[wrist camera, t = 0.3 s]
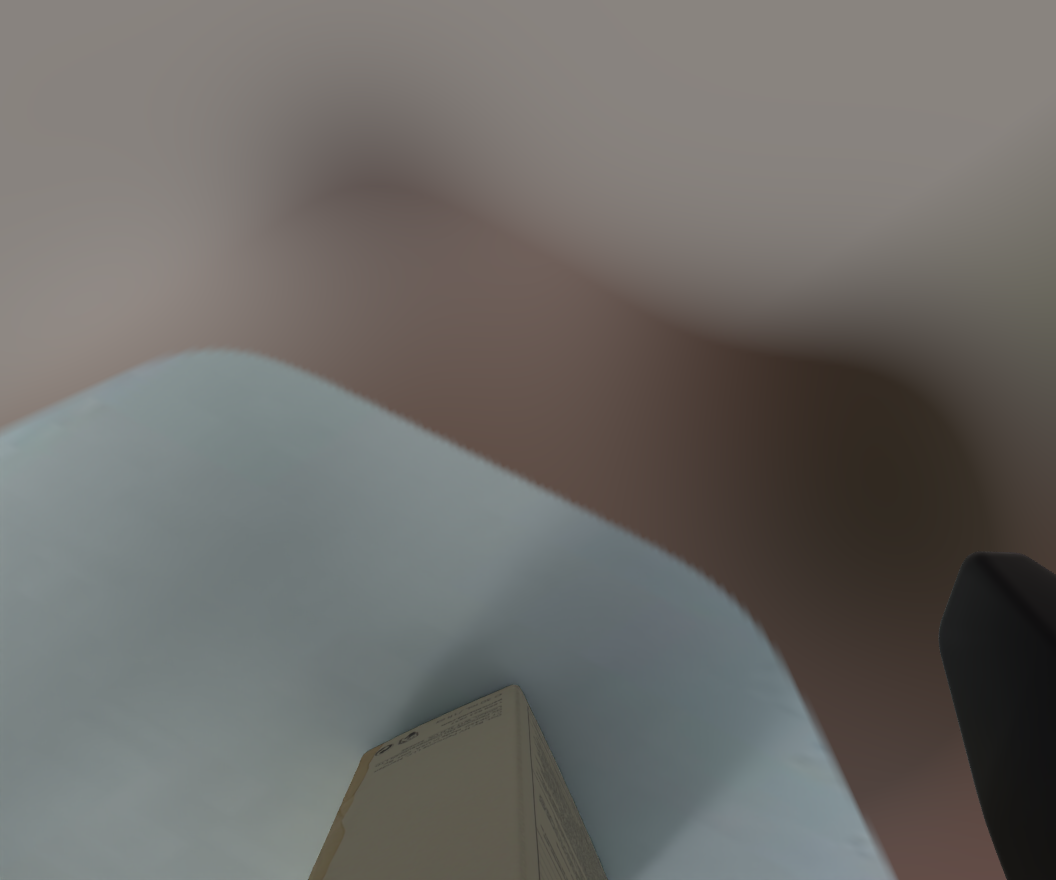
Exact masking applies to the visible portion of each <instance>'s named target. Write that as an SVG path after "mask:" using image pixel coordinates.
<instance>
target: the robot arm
mask: <svg viewBox="0 0 1056 880" xmlns="http://www.w3.org/2000/svg"><path fill="white" fill-rule="evenodd" d="M939 647H940V653H941V657H942V661H943V665H944V669H945V672H946V676H947V680H948V684H949V688H950V691H951V695H952V699H953V703H954V707H955V711H956V714H957V718H958V722H959V726H960V730H961V733H962V737H963V742H964V745H965V749H966V753H967V756H968V761H969V764H970V768H971V772H972V776H973V780H974V784H975V787H976V791H977V794H978V798H979V801H980V805H981V808H982V812H983V815H984V819H985V822H986V825H987V827H988V830H989V833H990V836H991V838H992V841H993V844H994V847H995V850H996V853H997V855H998V858H999V860H1000V863H1001V866H1002V868H1003V871H1004V873H1005V876H1006V879H1007V880H1056V575H1055V574H1054V573H1052V572H1051V571H1049V570H1048V569H1046V568H1045V567H1043V566H1041V565H1040V564H1038V563H1037V562H1035V561H1034V560H1032V559H1030V558H1029V557H1027V556H1025V555H1023V554H1020V553H1011V552H975V553H973V554H970V555H969V556H968V557H967V558H966V559H965V560H964V562H963V564H962V566H961V568H960V571H959V573H958V576H957V579H956V581H955V584H954V587H953V590H952V593H951V595H950V598H949V601H948V604H947V607H946V609H945V612H944V615H943V617H942V620H941V624H940V629H939Z"/></svg>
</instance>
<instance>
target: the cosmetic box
mask: <svg viewBox="0 0 1056 880" xmlns="http://www.w3.org/2000/svg"><path fill="white" fill-rule="evenodd" d="M308 880H607V877H606V875H605V872H604V870H603V868H602V865H601V863H600V861H599V858H598V856H597V854H596V851H595V849H594V847H593V844H592V842H591V840H590V837H589V835H588V833H587V830H586V828H585V826H584V824H583V821H582V819H581V817H580V815H579V812H578V810H577V808H576V806H575V803H574V801H573V799H572V797H571V794H570V792H569V790H568V788H567V786H566V784H565V781H564V779H563V777H562V775H561V772H560V770H559V768H558V766H557V763H556V761H555V759H554V757H553V755H552V753H551V751H550V749H549V747H548V744H547V742H546V740H545V738H544V736H543V734H542V732H541V730H540V727H539V725H538V723H537V721H536V719H535V717H534V715H533V713H532V711H531V709H530V707H529V705H528V703H527V701H526V698H525V696H524V694H523V692H522V690H521V689H520V687H519V686H517V685H510V686H508V687H505V688H503V689H501V690H499V691H497V692H494V693H492V694H489V695H487V696H485V697H482V698H480V699H478V700H476V701H473V702H471V703H469V704H466V705H464V706H462V707H459V708H457V709H455V710H453V711H451V712H448V713H446V714H444V715H442V716H440V717H438V718H436V719H433V720H431V721H429V722H426V723H424V724H422V725H420V726H418V727H416V728H414V729H412V730H410V731H408V732H405V733H403V734H401V735H399V736H397V737H395V738H393V739H391V740H389V741H387V742H385V743H383V744H381V745H379V746H377V747H375V748H373V749H371V750H369V751H368V752H366V753H365V754H364V755H363V756H362V758H361V760H360V763H359V766H358V768H357V770H356V772H355V774H354V777H353V779H352V781H351V784H350V786H349V788H348V790H347V793H346V795H345V797H344V799H343V802H342V804H341V806H340V808H339V811H338V813H337V815H336V818H335V820H334V822H333V824H332V827H331V829H330V831H329V834H328V836H327V838H326V840H325V843H324V845H323V847H322V849H321V851H320V854H319V856H318V858H317V860H316V863H315V865H314V867H313V869H312V872H311V874H310V876H309V879H308Z"/></svg>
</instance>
